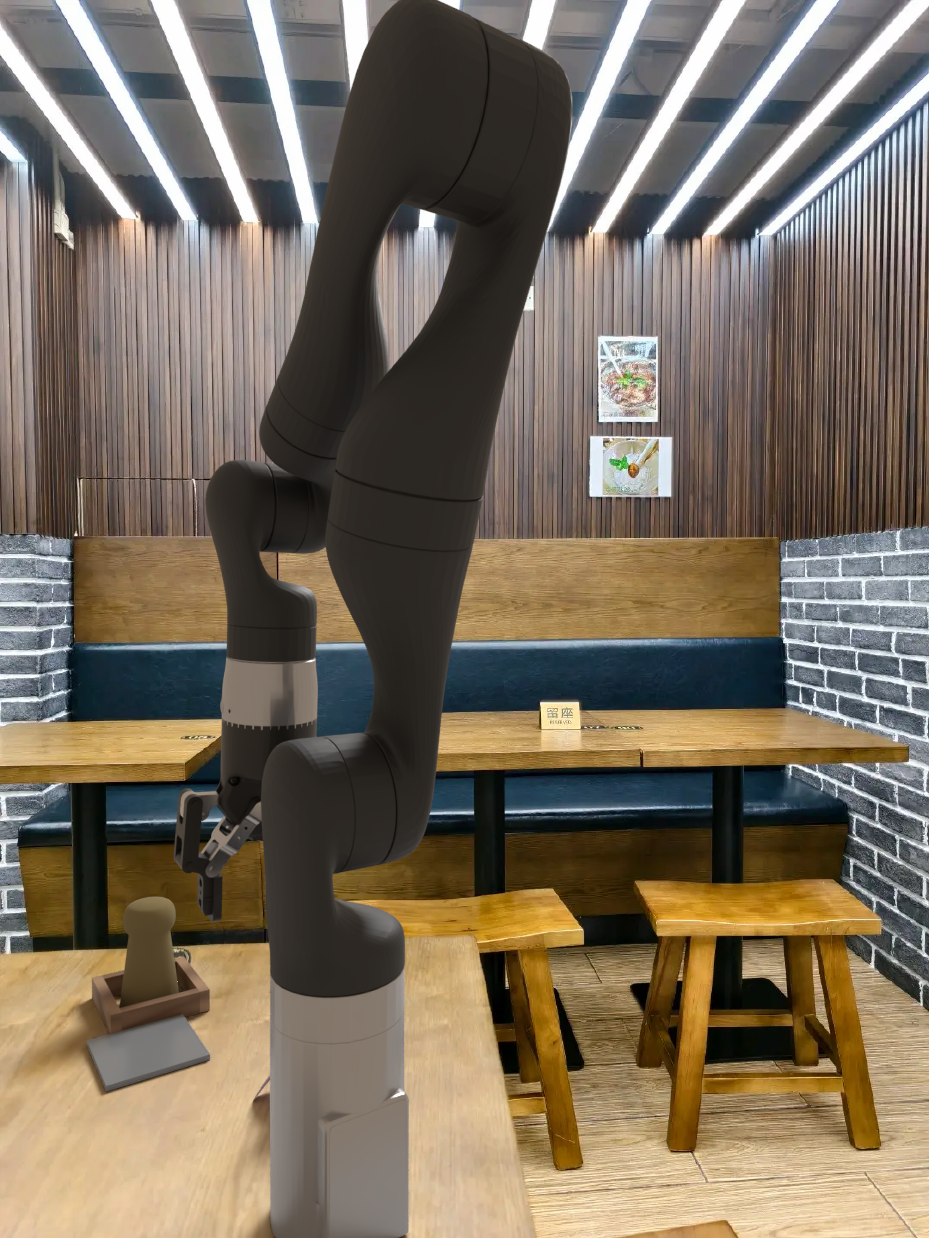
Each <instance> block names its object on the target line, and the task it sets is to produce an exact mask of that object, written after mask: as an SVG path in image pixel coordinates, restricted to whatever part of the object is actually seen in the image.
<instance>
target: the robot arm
mask: <svg viewBox="0 0 929 1238" xmlns="http://www.w3.org/2000/svg"><path fill="white" fill-rule="evenodd" d="M365 46H366V47H365V48H364V50H363V52H362V55H361V58H360V61H359V63H358V66H357V69H356V72H355V75H354V78H353V82H352V85H351V88H350V91H349V94H348V95H349V96H348V99H347V102H346V106H345V110H344V113H343V118H342V122H341V126H340V130H339V135H338V139H337V143H336V148H335V151H334V157H333V161H332V164H331V170H330V175H329V178H328V179H329V180H328V183H327V187H326V192H325V197H324V199H323V205H322V209H321V213H320V218H319V222H318V227H317V231H316V237H315V242H314V247H313V251H312V252H313V253H312V255H311V261H310V267H309V272H308V275H307V281H306V284H305V285H306V286H305V291H304V295H303V299H302V304H301V307H300V311H299V315H298V319H297V323H296V326H295V329H294V332H293V336H292V338H291V341H290V344H289V347H288V350H287V354H286V356H285V357H284V361H283V363H282V366H281V368H280V370H279V374H278V376H277V378H276V380H275V384H274V386H273V388H272V391H271V392H270V396H269V398H268V401H267V404H266V406H265V409H264V410H263V414H262V417H261V420H260V423H259V430H258V435H259V437H258V439H259V441H260V442H259V443H260V446H261V448H262V450H263V452H264V453H265V455H266V456H267V458H269V460H270V461H271V462H265V461H264V462H262V461H257V460H256V461H255V460H247V459H246V460H245V459H234V460H229V461H226V462H224V463H223V464H222V465H220V466H219V467H217V469H216V470H215V471H214V472H213V475H212V476H211V477H210V480H209V482H208V485H207V488H206V491H205V503H204V504H205V514H206V518H207V522H208V528H209V531H210V534H211V538H212V543H213V545H214V549H215V553H216V556H217V559H218V564H219V567H220V572H221V577H222V582H223V588H224V593H225V600H226V613H227V614H226V615H227V616H226V622H227V623H226V659H225V667H224V674H223V680H222V691H221V692H222V693H221V700H220V712H221V732H220V734H221V737H220V739H221V740H220V741H221V742H220V780H219V783H218V786H217V787H216V789H215V790H213V791H212V790H211V791H196V792H195V791H193V790H192V788H187V787H186V788H184V789H182V790H180V791H179V793H178V797H177V809H176V810H177V812H176V823H175V834H174V836H175V837H174V847H173V848H174V849H173V861H175V863H176V864H177V866H179V868H180V869H181V870H182V871H183V872H184V873H185V874H193V873H195V874H197V906H198V908H199V910H200V911H201V913H202V914H203V915H204V916H205V917H207V918H208V919H209V921H210V922H211V923H214V922H217V921H221V920H222V919H223V918H222V917H223V916H222V915H223V884H224V883H223V878H224V877H223V875H222V873H221V871H222V870H223V869H224V868H225V866H226V864H227V863H228V862H229V860H230V859H231V858H232V856H234V855H236V854H237V853H238V852H239V851H240V849H241V848H242V847H243V845H244V844H245V842H246V841H247V840H248V839H249V840H250V841H252V842H259V841H262V846H263V847H262V848H263V850H262V851H263V860H264V861H263V863H264V865H263V866H264V882H265V886H264V887H265V888H264V889H265V893H264V896H265V915H266V927H267V929H266V930H267V937H268V947H269V1075H270V1081H269V1168H270V1169H269V1174H270V1175H269V1176H270V1177H269V1178H270V1179H269V1184H270V1189H269V1191H270V1193H269V1194H270V1195H269V1196H270V1197H269V1198H270V1200H269V1201H270V1202H269V1203H270V1204H269V1205H270V1207H269V1208H270V1209H269V1210H270V1211H269V1213H270V1215H269V1216H270V1219H269V1220H270V1226H271V1227H270V1228H271V1231H272V1234H273V1236H274V1237H275V1238H401V1237H403V1236H405V1235H407V1234H408V1233H409V1224H410V1223H409V1221H410V1219H409V1216H410V1215H409V1213H410V1212H409V1203H410V1202H409V1199H410V1198H409V1196H410V1192H409V1190H410V1189H409V1183H410V1182H409V1181H410V1180H409V1179H410V1178H409V1175H410V1173H409V1171H410V1169H409V1166H410V1165H409V1164H410V1162H409V1159H410V1154H409V1152H410V1149H409V1148H410V1147H409V1146H410V1145H409V1144H410V1143H409V1142H410V1138H409V1137H410V1136H409V1135H410V1098H409V1096H408V1094H407V1092H405V1001H406V1000H405V996H406V995H405V992H406V991H405V989H406V988H405V987H406V986H405V983H406V982H405V978H406V975H405V971H406V970H405V969H406V968H405V967H406V966H405V965H406V939H405V938H406V937H405V930H404V928H403V926H402V924H401V923H400V922H401V921H399V920H398V919H397V918H396V917H395V916H394V915H393V914H392V913H389V912H387V911H385V910H383V909H381V908H378V907H376V906H372V905H369V904H364V903H361V902H354V901H349V900H348V901H347V900H344V899H343V900H342V899H337V898H335V891H334V881H333V880H334V878H333V875H335V874H340V873H345V872H351V871H356V870H361V869H367V868H371V867H374V866H381V865H385V864H389V863H394V862H396V861H399V860H401V859H404V858H405V857H407V856H410V855H411V854H412V853H413V852H414V851H415V850H416V849H417V847H418V846H419V844H420V843H421V841H422V840H423V837H424V835H425V833H426V830H427V827H428V822H429V819H430V816H431V811H432V806H433V798H434V791H435V783H436V775H437V767H438V766H437V764H438V756H439V755H438V754H439V745H440V736H441V726H442V718H443V717H442V715H443V707H444V698H445V697H444V696H445V690H446V689H445V688H446V682H447V676H448V671H449V670H448V669H449V664H450V657H451V651H452V650H451V649H452V645H453V640H454V635H455V630H456V624H457V621H458V620H457V619H458V614H459V609H460V604H461V600H462V599H461V598H462V596H463V595H462V594H463V589H464V584H465V580H466V577H467V571H468V567H469V564H470V561H471V557H472V551H473V547H474V542H475V538H476V533H477V529H478V522H479V519H480V514H481V513H480V512H481V509H482V503H483V501H484V500H483V499H484V498H483V496H484V494H485V488H486V487H485V486H486V483H487V482H486V481H487V476H488V468H489V465H490V464H489V463H490V457H491V453H492V452H491V451H492V447H493V441H494V437H495V436H494V435H495V432H496V428H497V427H496V426H497V422H498V417H499V413H500V409H501V403H502V399H503V394H504V389H505V385H506V381H507V376H508V371H509V368H510V364H511V359H512V355H513V351H514V348H515V343H516V339H517V336H518V331H519V327H520V323H521V322H522V321H521V320H522V317H523V313H524V309H525V306H526V303H527V299H528V296H529V293H530V290H531V286H532V282H533V280H534V275H535V274H536V270H537V266H538V262H539V260H540V256H541V253H542V250H543V246H544V244H545V243H544V242H545V239H546V237H547V233H548V230H549V226H550V224H551V223H550V222H551V219H552V216H553V213H554V208H555V205H556V203H557V199H558V195H559V192H560V188H561V183H562V180H563V177H564V176H563V175H564V173H565V167H566V162H567V159H568V158H567V157H568V152H569V148H570V147H569V146H570V141H571V140H570V139H571V133H572V127H573V95H572V94H573V93H572V89H571V85H570V81H569V77H568V75H567V73H566V70H565V69H564V68H563V66H562V65H561V63H560V62H559V61H558V60H557V59H556V58H554V56H552V55H551V54H548V53H547V52H546V51H544V50H543V49H541V48H540V47H539V48H538V47H537V46H534V45H533V44H531V43H530V42H527V41H525V40H523V39H521V38H518V37H515V36H513V35H511V34H509V33H508V32H506V31H504V30H501V29H499V28H496V27H495V26H492V25H491V24H489V23H486V22H485V21H482V20H480V19H479V18H476V17H473V16H472V15H471V14H469V13H467V12H465V11H463V10H461V9H458V8H456V7H454V6H451V5H450V4H448V3H446V2H443V1H441V0H397V2H395V3H394V4H393V5H392V6H391V7H389V9H387V11H386V12H384V14H383V15H382V16H381V18H380V20H379V21H378V23H377V24H376V26H375V28H374V29H373V31H372V33H371V36H370V37H369V40H368V42H367V43H366V45H365ZM401 205H404V206H408V207H412V208H413V209H414V208H415V209H418V210H422V211H425V212H429V213H431V214H435V215H438V216H442V217H445V218H448V219H451V220H454V221H456V224H457V225H456V231H455V236H454V242H453V247H452V252H451V254H450V255H451V256H450V260H449V263H448V266H447V270H446V272H445V273H446V274H445V276H444V280H443V284H442V287H441V289H440V293H439V295H438V297H437V300H436V303H435V305H434V306H433V309H432V311H431V313H430V314H429V316H428V318H427V320H426V321H425V323H424V325H423V326H422V328H421V330H420V331H419V333H418V334H417V336H416V337H415V338H414V339H413V340H412V342H411V343H410V344H409V346H408V347H407V348H406V350H405V351H404V352H403V353H402V354H401V355H400V357H399V358H398V359H397V361H396V362H395V363H394V364H393V365H392V366H391V368H390V369H389V367H390V366H389V347H388V346H389V345H388V340H387V332H386V327H385V322H384V316H383V311H382V304H381V297H380V291H379V290H380V288H379V275H378V274H379V273H378V272H379V271H378V270H379V260H380V253H381V249H382V245H383V243H384V242H383V241H384V239H385V236H386V234H387V231H388V229H389V227H390V224H391V223H392V221H393V219H394V217H395V215H396V213H397V212H398V210H399V208H400V207H401ZM324 549H325V552H326V557H327V560H328V565H329V567H330V570H331V573H332V576H333V578H334V582H335V583H336V586H337V588H338V591H339V593H340V595H341V597H342V600H343V601H344V604H345V606H346V608H347V609H348V612H349V614H350V616H351V618H352V620H353V621H354V624H355V627H356V628H357V630H358V631H359V634H360V636H361V639H362V641H363V643H364V646H365V648H366V651H367V654H368V657H369V660H370V664H371V667H372V673H373V674H372V675H373V693H372V695H373V696H372V705H371V706H372V707H371V713H370V717H369V721H368V725H367V726H366V729H365V730H364V732H356V733H342V734H334V735H324V736H323V735H322V736H317V732H318V731H317V729H318V728H317V727H318V697H319V693H318V692H319V691H318V690H319V687H318V685H319V684H318V675H317V663H316V662H317V659H316V657H317V628H318V627H317V626H318V625H317V623H318V620H317V619H318V603H317V602H318V601H317V598H316V595H315V594H314V592H313V591H312V590H311V589H310V588H308V587H306V586H304V585H301V584H297V583H293V582H288V581H283V580H279V579H276V578H274V577H272V576H271V575H270V574H269V573H268V571H267V570H266V568H265V566H264V564H263V562H262V559H261V555H260V553H279V554H280V553H282V554H302V555H303V554H304V555H306V554H314V553H317V552H320V551H322V550H324ZM214 807H217V808H218V810H219V811H220V812H221V813H222V815H223V816H222V818H221V819H220V821H218V824H217V825H216V826H215V827H214V829H213V831H212V832H211V836H210V837H211V838H210V839H209V840H208V842H207V843H206V845H205V846H204V847H203V848H202V850H201V852H200V846H201V845H200V844H201V843H200V842H201V833H202V832H201V831H202V822H204V821H205V820H207V819H208V818H209V817H210V816H209V815H210V812H211V810H212V809H213V808H214Z"/></svg>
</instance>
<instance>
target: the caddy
mask: <svg viewBox="0 0 929 1238" xmlns="http://www.w3.org/2000/svg"><path fill="white" fill-rule="evenodd" d="M174 961H175V968H176V975H177V981H178V985H179V984H180V985H179V986H180V988H183V989H182V990H183V991H181V992H180V991H179V993H176V994H172V995H168V996H164V997H161V998H157V999H153V1000H149V1001H145V1002H141V1003H137V1004H133V1005H130V1006H126V1007H122V1008H119V1006H120V1005H119V1004H118V1003H117V1001H116V999H115V997H118V996H121V991H122V983H123V976H124V969H122V970H119V971H114V972H110V973H106V974H101V975H98V976H94V977H93V976H92V977H91V999H92V1002H93V1003H94V1005H95V1007H96V1009H97V1011H98V1014H99V1016H100V1017H101V1020H102V1023H103V1024H104V1026H105V1029H106V1030H107V1032H108V1034H111V1033H114V1032H118V1031H122V1030H125V1029H129V1028H133V1027H136V1026H140V1025H144V1024H147V1023H151V1022H155V1021H158V1020H162V1019H166V1018H169V1017H173V1016H177V1015H181V1014H183V1015H184V1017H185V1018H187V1017H191V1016H194V1015H198V1014H202V1013H204V1012H206V1013H207V1012H209V1011H211V1010H210V1009H211V1007H210V1003H211V1001H210V999H211V998H210V996H211V995H210V993H211V991H210V988H209V986H208V985H207V984H206V982H205V981H204V980H203V979H202V978H201V976H200V975H199V974H198V973H197V971H196V970H195V969H194V968H193V966H192V965H191V964H190V962H189V961H188V960H187V959H186V957H185V955H183V956H178V957H174ZM201 1012H202V1013H201Z"/></svg>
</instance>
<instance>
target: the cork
mask: <svg viewBox="0 0 929 1238" xmlns="http://www.w3.org/2000/svg"><path fill="white" fill-rule="evenodd" d="M176 912H177V911H176V907H175V904H174V903H173V901H172V900H170V899H169V898H166V897H163V896H147V897H143V898H139V899H137V900H134V901H132V902H131V903H129V904H128V905H127V907H126V908H125V910H124V911H123V915H122V926H123V928H124V929H123V930H124V932H125V933H126V934H127V935H128V939H127V946H126V954H125V960H124V961H125V962H124V969H123V970H124V976H123V983H122V991H121V995H120V1000H119V1005H118V1006H119V1008H122V1007H126V1006H130V1005H133V1004H137V1003H141V1002H145V1001H149V1000H153V999H157V998H161V997H164V996H168V995H172V994H176V993H180V990H179V983H178V982H177V975H176V968H175V961H174V958H175V955H174V954H175V953H174V949H173V948H174V947H173V942H172V941H173V940H172V935H171V929H172V928H173V926H174V925H175V922H176V917H177V915H176V914H177V913H176Z"/></svg>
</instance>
